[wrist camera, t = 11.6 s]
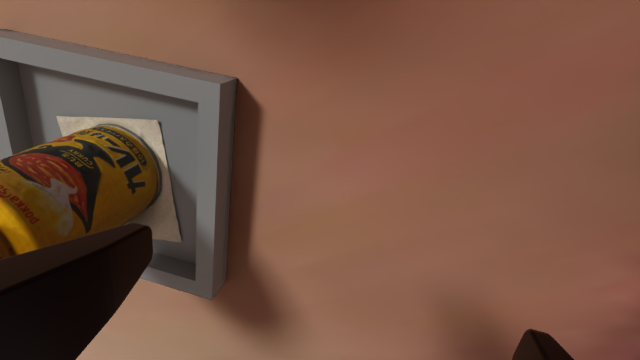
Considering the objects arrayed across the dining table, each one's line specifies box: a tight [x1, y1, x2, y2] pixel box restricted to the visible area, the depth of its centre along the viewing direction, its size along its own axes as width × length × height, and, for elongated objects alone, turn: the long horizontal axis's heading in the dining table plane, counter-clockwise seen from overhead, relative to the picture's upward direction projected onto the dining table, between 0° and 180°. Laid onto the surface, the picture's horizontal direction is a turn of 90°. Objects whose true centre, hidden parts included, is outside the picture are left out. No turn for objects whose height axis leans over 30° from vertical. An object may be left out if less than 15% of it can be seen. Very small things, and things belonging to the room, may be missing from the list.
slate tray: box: [0, 29, 237, 300], centre depth 25 cm, size 15×14×2 cm
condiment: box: [0, 116, 182, 260], centre depth 20 cm, size 7×8×12 cm
